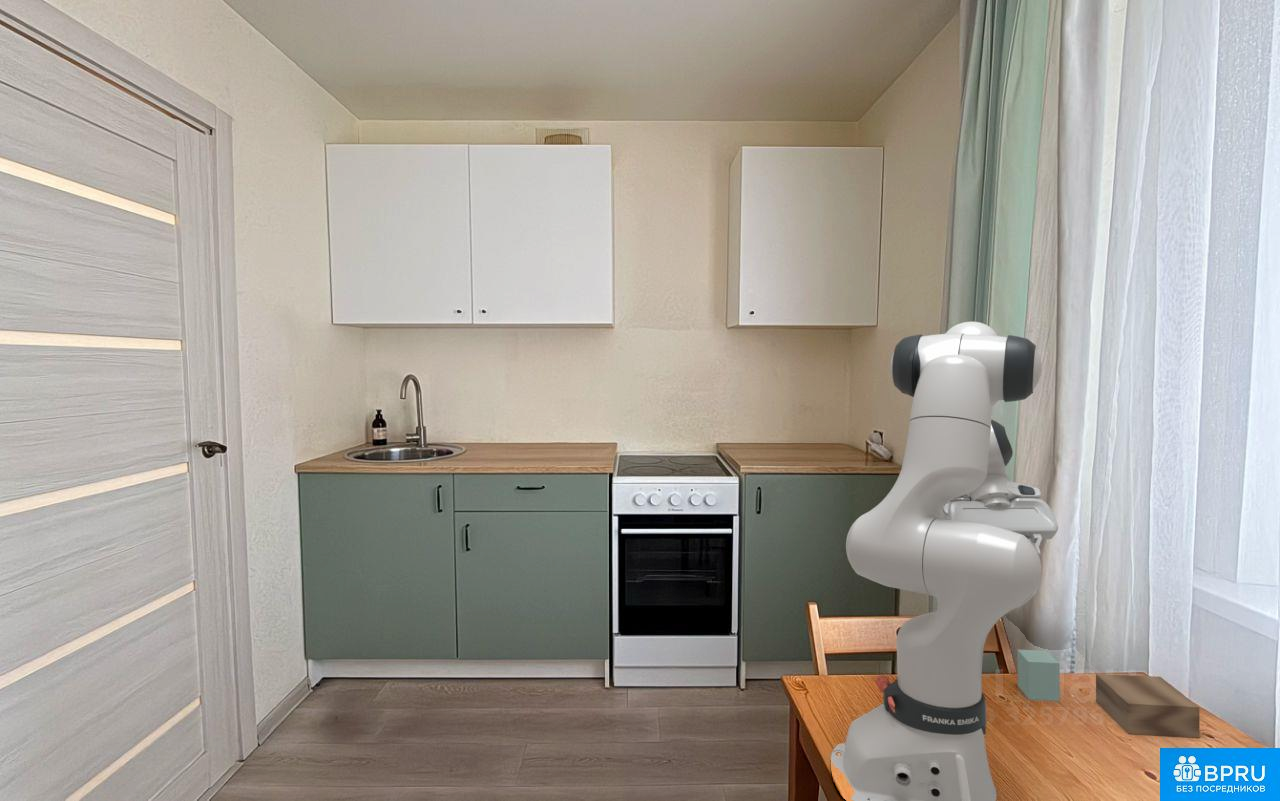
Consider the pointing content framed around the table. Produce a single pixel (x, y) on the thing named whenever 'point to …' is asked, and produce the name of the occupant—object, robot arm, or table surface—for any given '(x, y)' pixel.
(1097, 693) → the walnut block
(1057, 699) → the sage block
